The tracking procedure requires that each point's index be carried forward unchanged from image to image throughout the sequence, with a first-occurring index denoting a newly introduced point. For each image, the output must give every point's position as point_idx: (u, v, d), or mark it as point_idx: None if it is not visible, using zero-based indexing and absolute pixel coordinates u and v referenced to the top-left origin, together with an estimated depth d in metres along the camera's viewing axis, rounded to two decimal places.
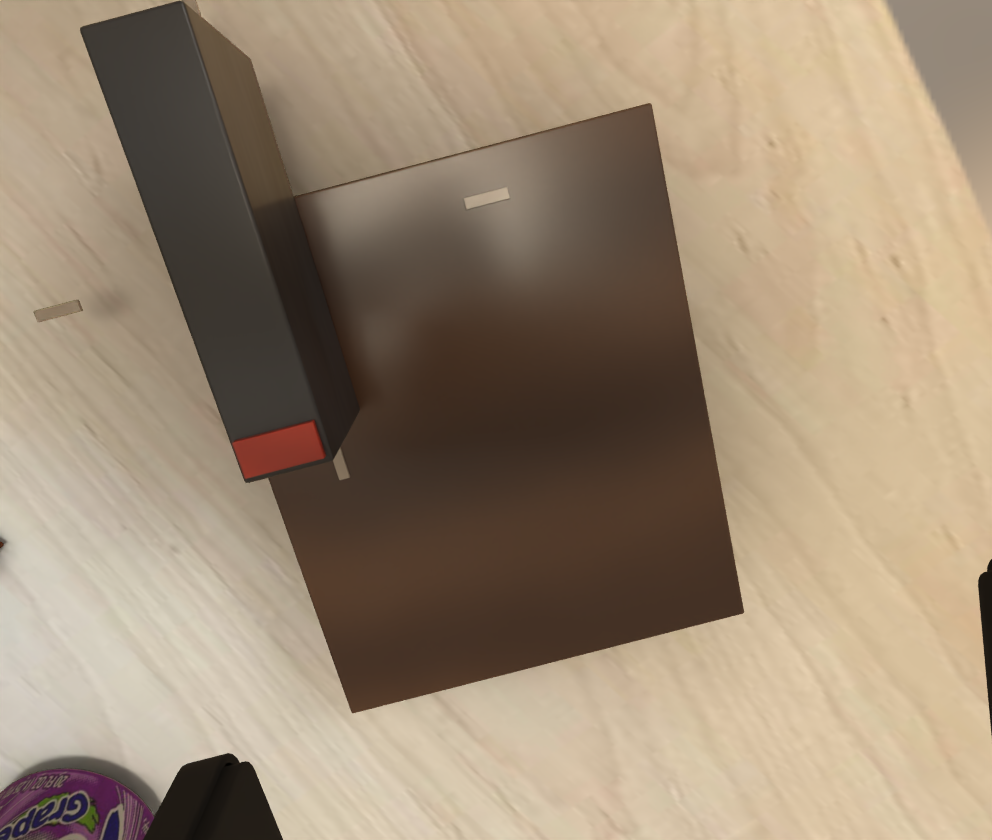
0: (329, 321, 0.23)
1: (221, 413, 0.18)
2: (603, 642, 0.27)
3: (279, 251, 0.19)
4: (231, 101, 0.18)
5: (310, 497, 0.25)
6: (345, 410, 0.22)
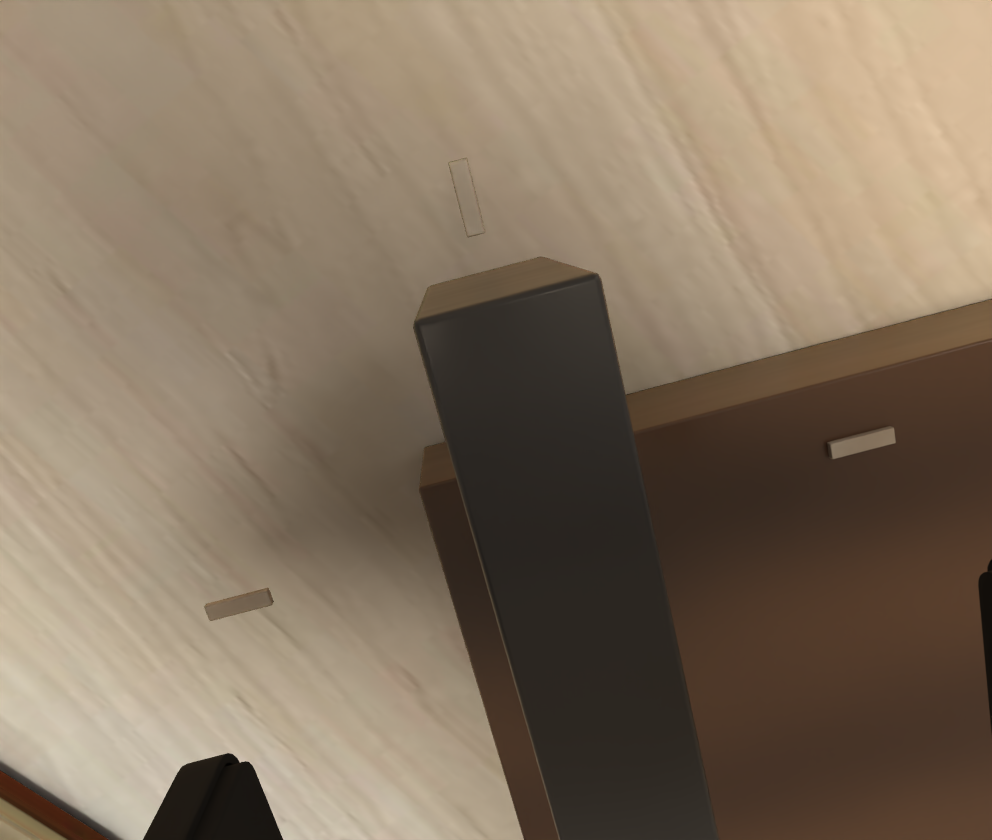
0: None
1: None
2: None
3: None
4: None
5: None
6: None
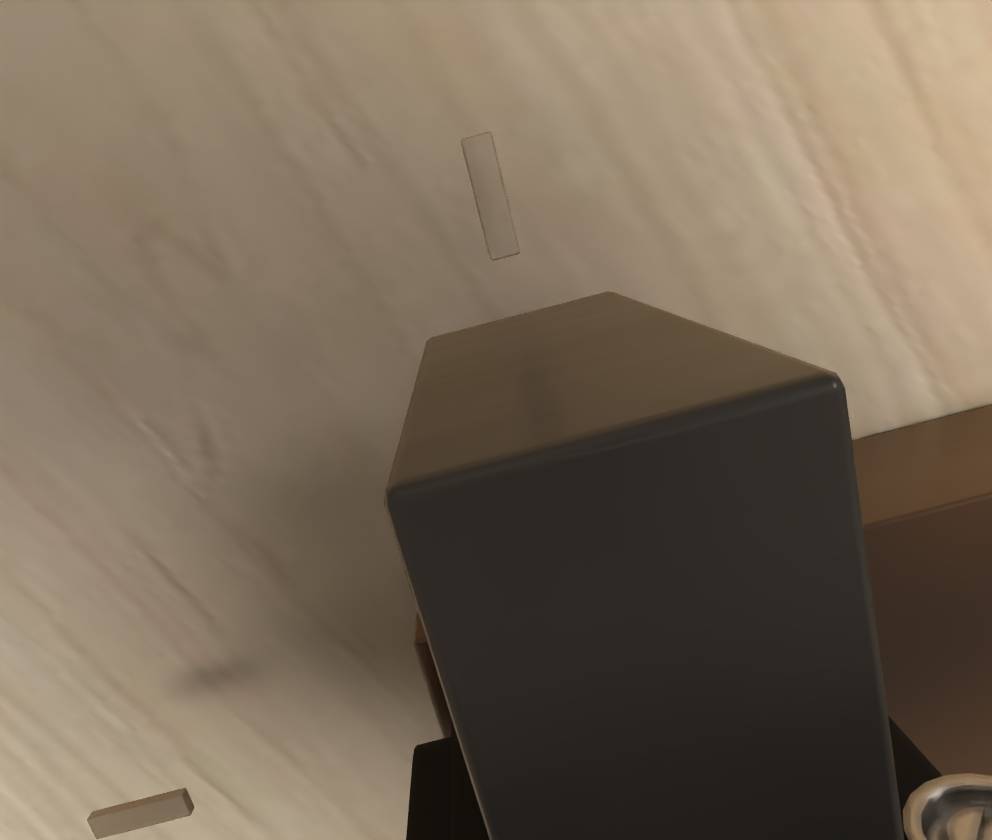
0: None
1: None
2: None
3: None
4: None
5: None
6: None
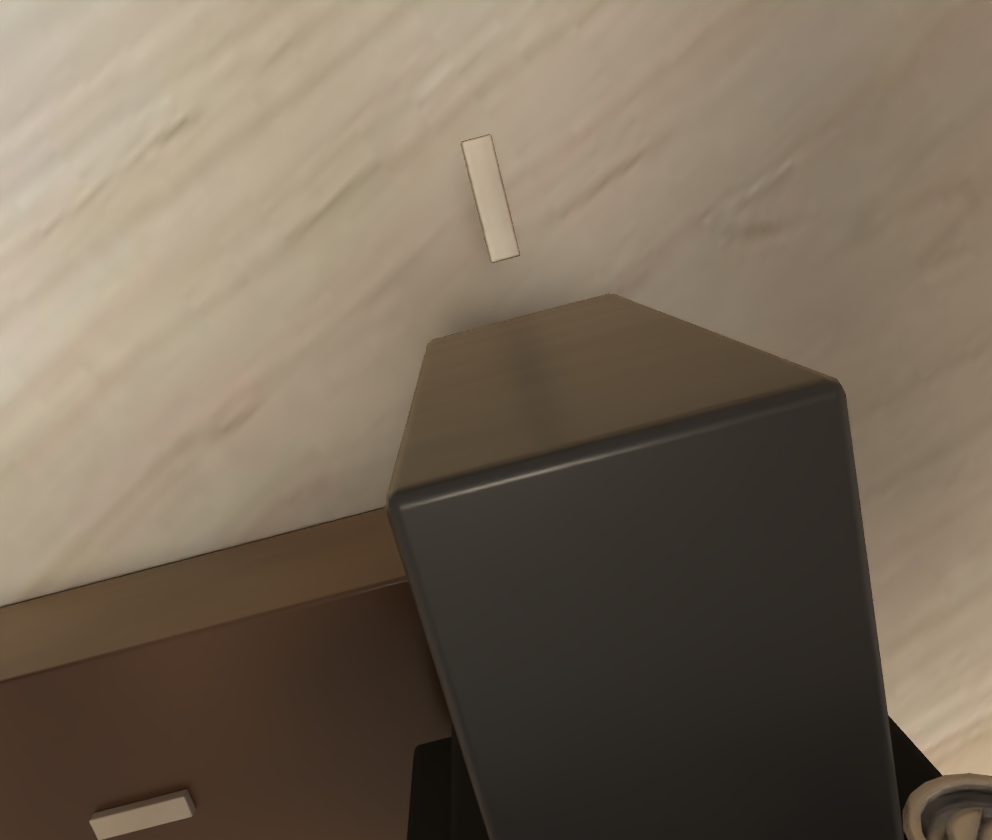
0: None
1: None
2: None
3: None
4: None
5: (35, 751, 0.10)
6: None
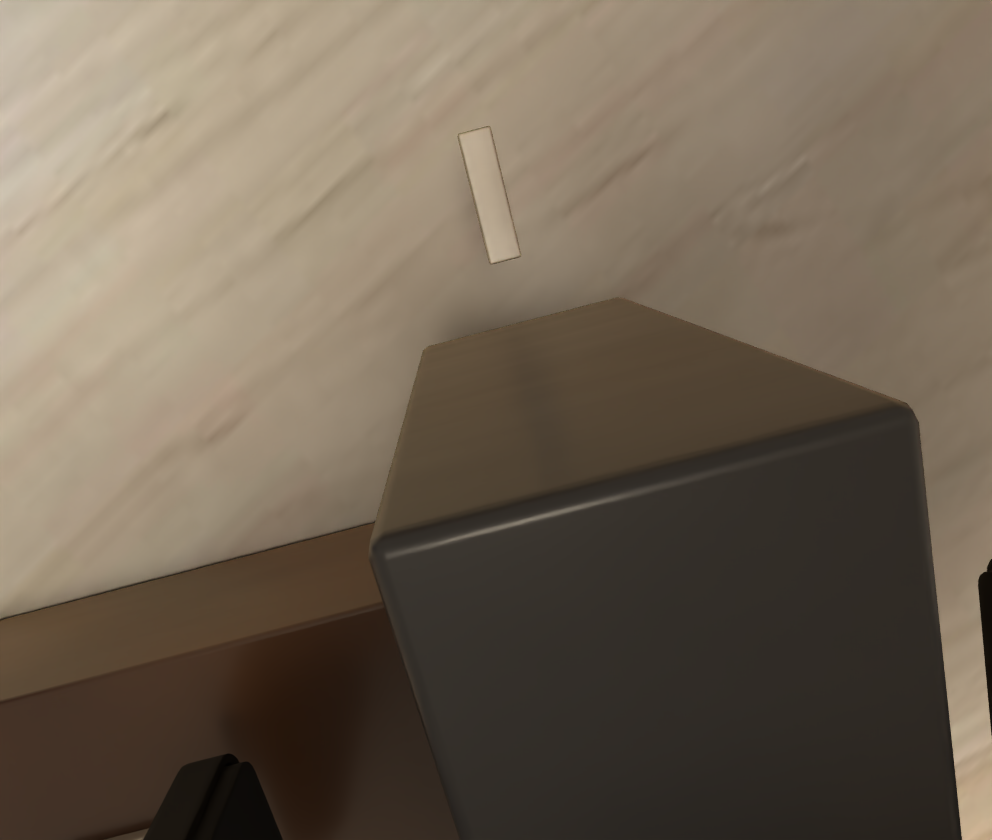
0: None
1: None
2: None
3: None
4: None
5: (4, 784, 0.09)
6: None
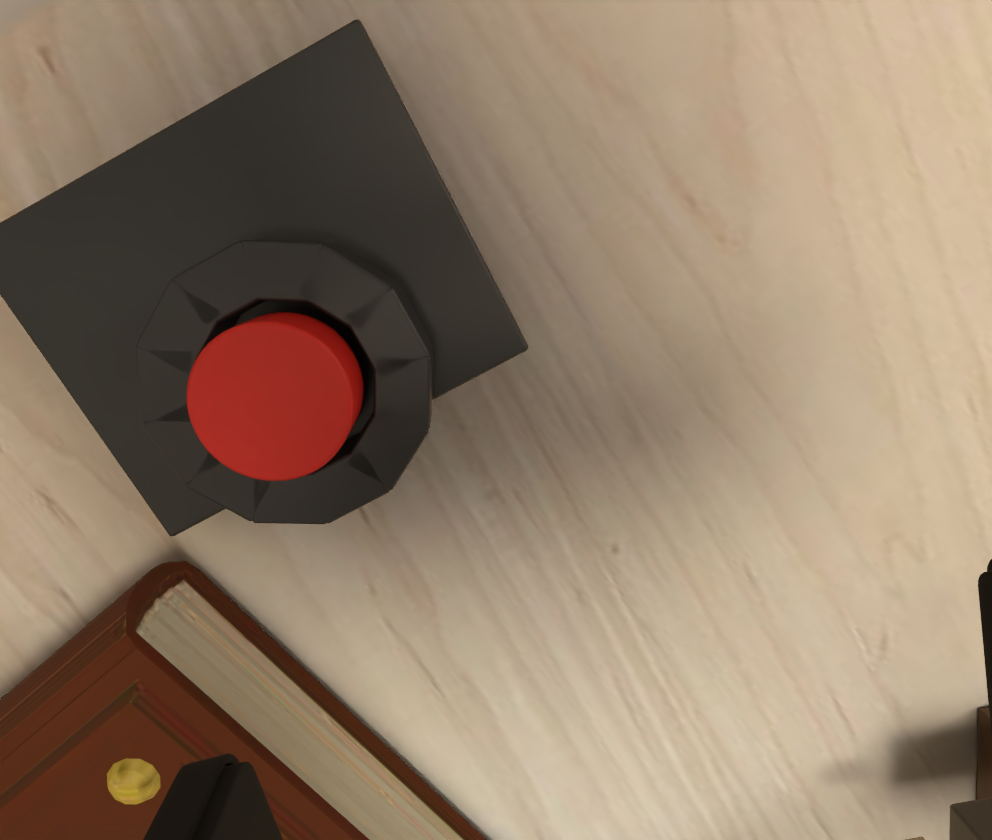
0: None
1: None
2: None
3: None
4: None
5: None
6: None
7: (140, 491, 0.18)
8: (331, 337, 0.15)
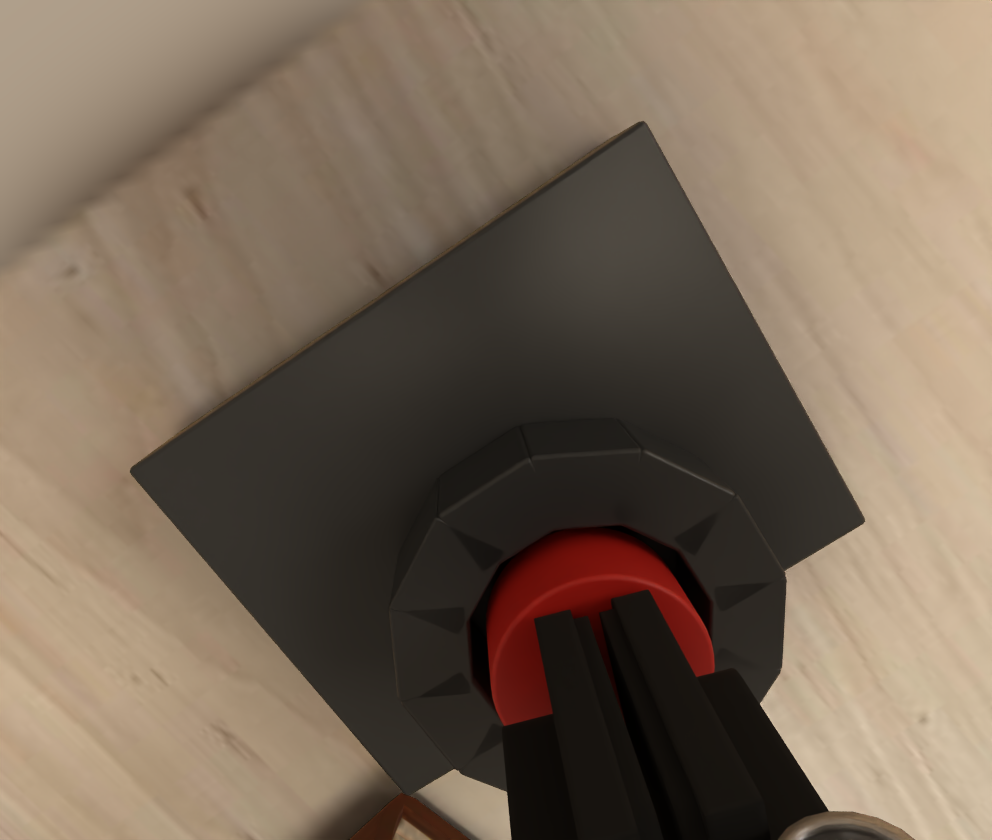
0: None
1: None
2: None
3: None
4: None
5: None
6: None
7: (365, 745, 0.14)
8: (660, 566, 0.11)
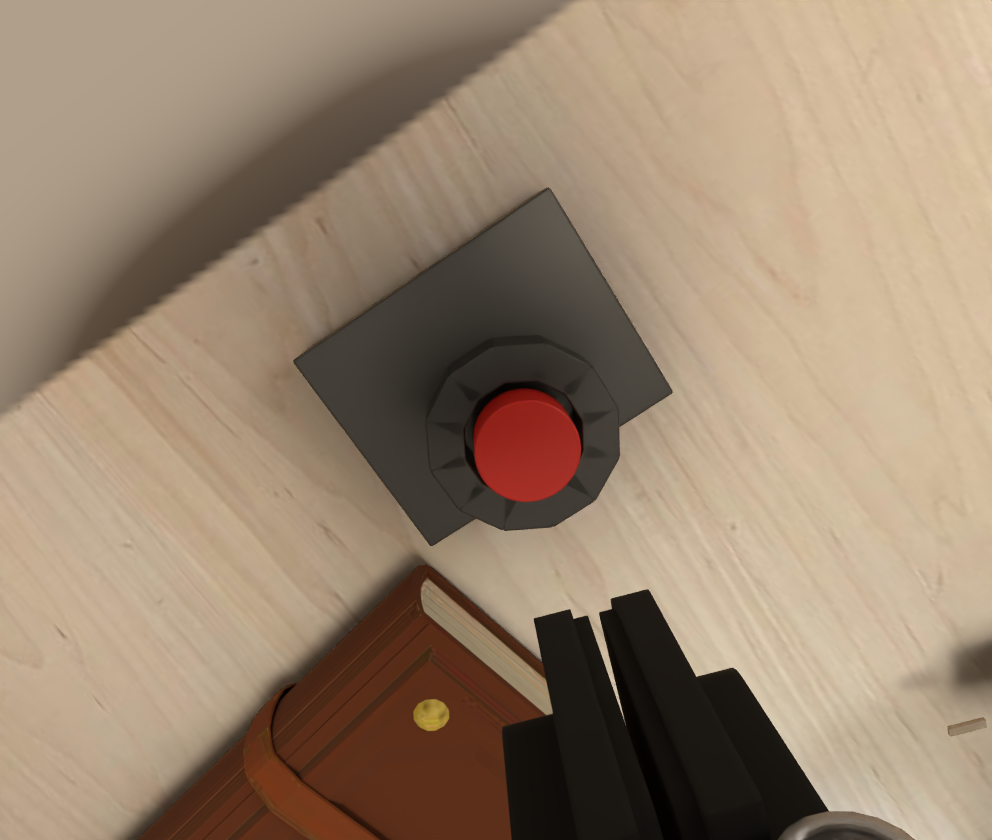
0: None
1: None
2: None
3: None
4: None
5: None
6: None
7: (408, 516, 0.25)
8: (557, 403, 0.22)
